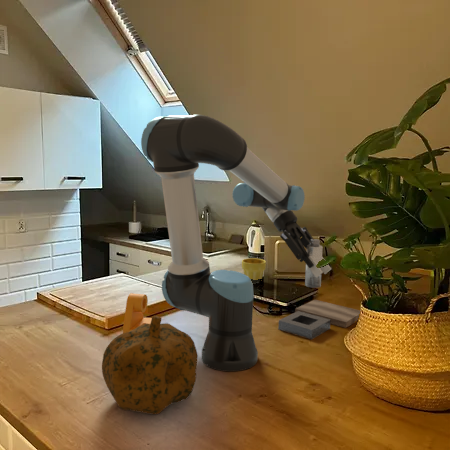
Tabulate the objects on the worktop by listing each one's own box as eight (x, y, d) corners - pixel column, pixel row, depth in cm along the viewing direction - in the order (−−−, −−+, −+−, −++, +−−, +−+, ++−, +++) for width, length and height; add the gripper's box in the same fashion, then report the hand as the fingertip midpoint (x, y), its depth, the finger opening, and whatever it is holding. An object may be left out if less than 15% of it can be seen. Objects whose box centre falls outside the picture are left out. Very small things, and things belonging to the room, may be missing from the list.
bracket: (145, 340, 133) (145, 301, 132) (123, 337, 135) (122, 299, 133) (158, 326, 144) (158, 290, 142) (137, 324, 145) (136, 288, 143)
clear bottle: (315, 288, 142) (318, 242, 140) (302, 285, 146) (304, 240, 143) (323, 285, 146) (325, 239, 144) (309, 282, 149) (311, 237, 147)
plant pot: (256, 287, 190) (257, 264, 188) (236, 282, 196) (237, 260, 194) (269, 282, 198) (270, 260, 196) (249, 278, 204) (250, 257, 202)
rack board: (345, 328, 146) (346, 322, 146) (295, 314, 158) (295, 308, 158) (363, 317, 157) (363, 311, 157) (314, 304, 169) (314, 299, 169)
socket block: (311, 339, 136) (312, 330, 136) (278, 329, 144) (278, 320, 143) (330, 328, 145) (330, 319, 145) (297, 319, 153) (298, 311, 152)
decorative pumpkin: (107, 374, 110) (113, 296, 106) (193, 380, 112) (201, 304, 108) (88, 426, 90) (94, 333, 87) (193, 432, 92) (203, 341, 88)
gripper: (289, 220, 159) (329, 274, 152) (259, 226, 146) (301, 285, 138) (302, 207, 155) (344, 261, 147) (273, 211, 142) (318, 272, 134)
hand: (323, 273), depth 143 cm, fingers closed on clear bottle, 5 cm apart
